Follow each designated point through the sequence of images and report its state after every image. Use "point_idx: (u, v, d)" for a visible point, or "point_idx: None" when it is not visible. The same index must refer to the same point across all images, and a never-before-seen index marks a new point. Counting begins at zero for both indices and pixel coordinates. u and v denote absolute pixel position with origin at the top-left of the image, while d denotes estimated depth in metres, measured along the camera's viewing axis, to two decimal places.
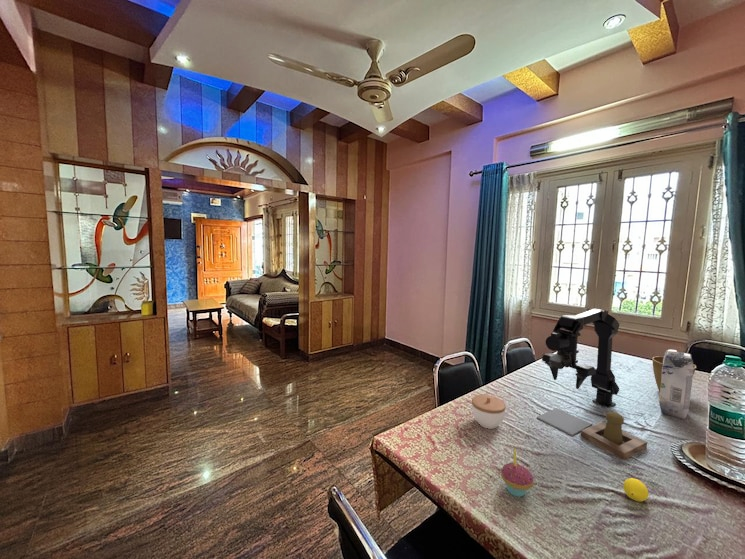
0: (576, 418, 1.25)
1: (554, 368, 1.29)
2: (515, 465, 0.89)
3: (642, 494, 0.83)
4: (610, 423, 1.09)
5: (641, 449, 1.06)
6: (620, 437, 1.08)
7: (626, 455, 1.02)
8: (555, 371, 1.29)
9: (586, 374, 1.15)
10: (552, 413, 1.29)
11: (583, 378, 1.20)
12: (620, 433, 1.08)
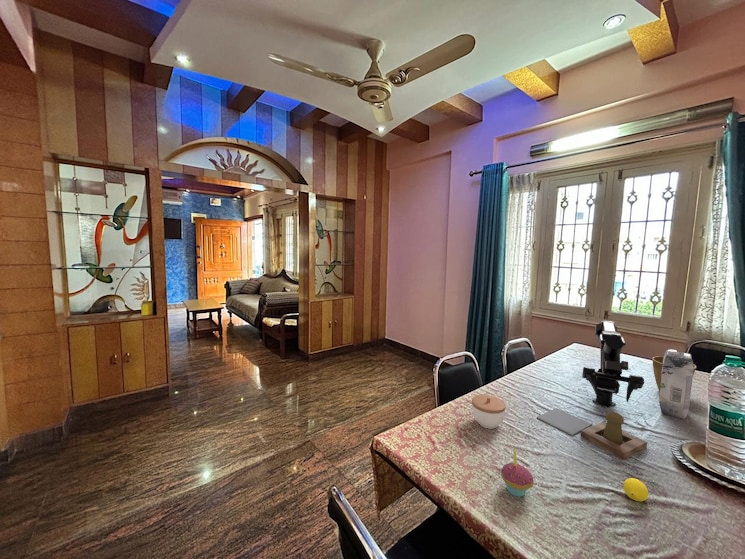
0: (576, 418, 1.25)
1: None
2: (515, 465, 0.89)
3: (642, 494, 0.83)
4: (610, 423, 1.09)
5: (641, 449, 1.06)
6: (620, 437, 1.08)
7: (626, 455, 1.02)
8: (596, 386, 1.21)
9: (643, 380, 1.14)
10: (552, 413, 1.29)
11: None
12: (620, 433, 1.08)
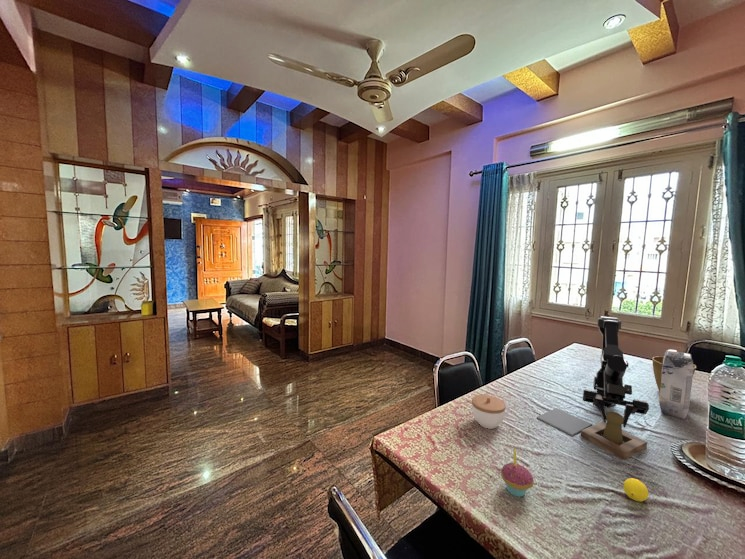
0: (576, 418, 1.25)
1: None
2: (515, 465, 0.89)
3: (642, 494, 0.83)
4: (610, 423, 1.09)
5: (641, 449, 1.06)
6: (620, 437, 1.08)
7: (626, 455, 1.02)
8: (604, 412, 1.12)
9: (648, 406, 1.06)
10: (552, 413, 1.29)
11: None
12: (620, 433, 1.08)
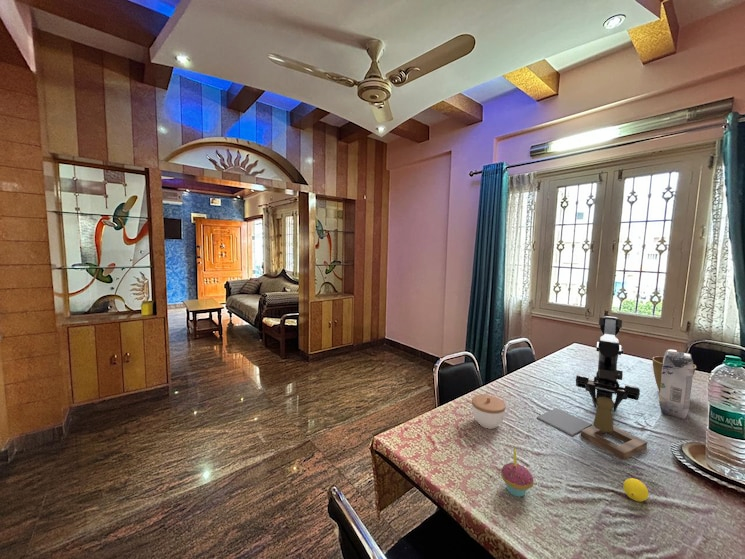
0: (576, 418, 1.25)
1: None
2: (515, 465, 0.89)
3: (642, 494, 0.83)
4: (600, 408, 1.11)
5: (641, 449, 1.06)
6: (610, 421, 1.10)
7: (626, 455, 1.02)
8: (595, 397, 1.14)
9: (638, 391, 1.07)
10: (552, 413, 1.29)
11: None
12: (610, 417, 1.10)
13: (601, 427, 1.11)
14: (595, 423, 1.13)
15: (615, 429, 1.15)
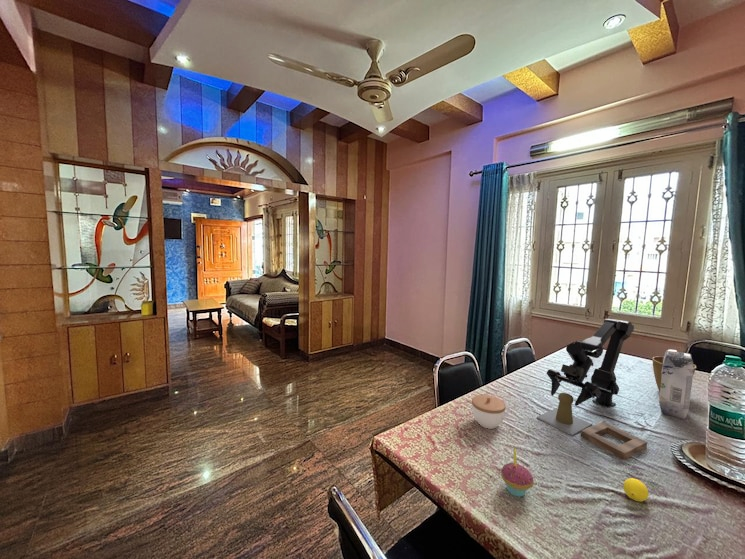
0: (576, 418, 1.25)
1: (556, 384, 1.28)
2: (515, 465, 0.89)
3: (642, 494, 0.83)
4: (560, 401, 1.23)
5: (641, 449, 1.06)
6: (567, 415, 1.21)
7: (626, 455, 1.02)
8: (555, 388, 1.27)
9: (595, 388, 1.16)
10: (552, 413, 1.29)
11: (585, 398, 1.19)
12: (567, 411, 1.21)
13: (559, 419, 1.23)
14: (556, 415, 1.25)
15: (615, 429, 1.15)
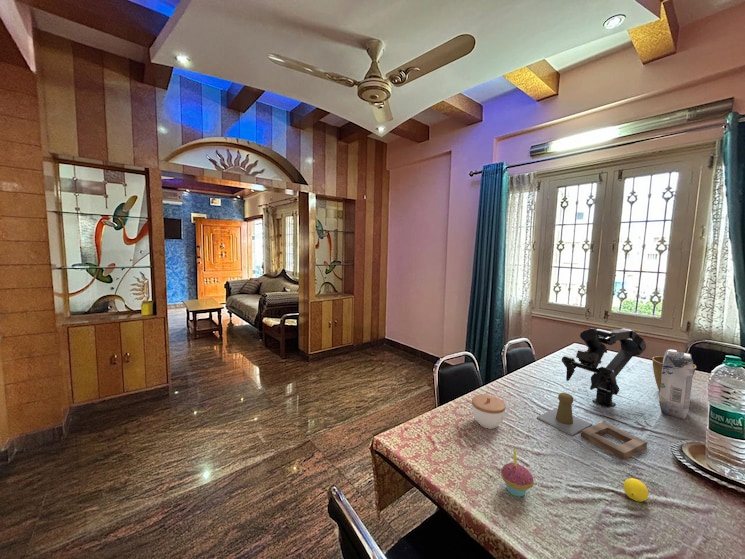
0: (576, 418, 1.25)
1: (570, 370, 1.33)
2: (515, 465, 0.89)
3: (642, 494, 0.83)
4: (560, 401, 1.23)
5: (641, 449, 1.06)
6: (567, 415, 1.21)
7: (626, 455, 1.02)
8: (570, 373, 1.32)
9: (609, 372, 1.20)
10: (552, 413, 1.29)
11: (600, 382, 1.24)
12: (567, 411, 1.21)
13: (559, 419, 1.23)
14: (556, 415, 1.25)
15: (615, 429, 1.15)
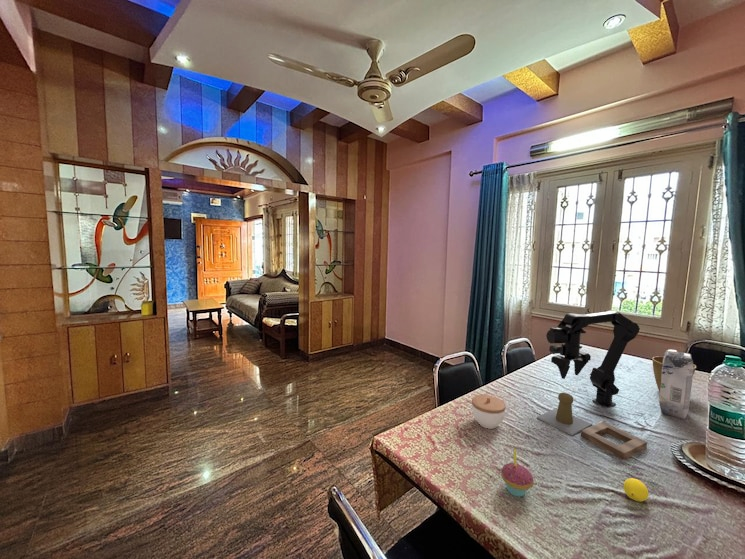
0: (576, 418, 1.25)
1: (576, 364, 1.38)
2: (515, 465, 0.89)
3: (642, 494, 0.83)
4: (560, 401, 1.23)
5: (641, 449, 1.06)
6: (567, 415, 1.21)
7: (626, 455, 1.02)
8: (577, 367, 1.38)
9: (551, 360, 1.34)
10: (552, 413, 1.29)
11: (564, 369, 1.32)
12: (567, 411, 1.21)
13: (559, 419, 1.23)
14: (556, 415, 1.25)
15: (615, 429, 1.15)
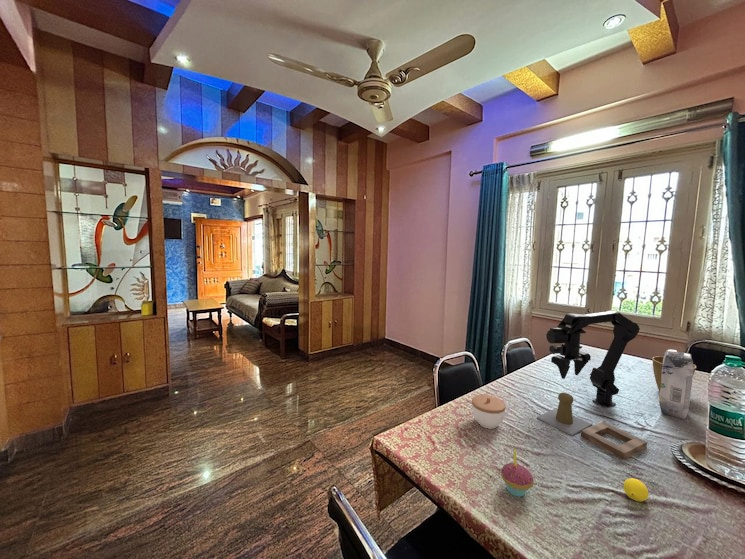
0: (576, 418, 1.25)
1: (576, 364, 1.38)
2: (515, 465, 0.89)
3: (642, 494, 0.83)
4: (560, 401, 1.23)
5: (641, 449, 1.06)
6: (567, 415, 1.21)
7: (626, 455, 1.02)
8: (577, 367, 1.38)
9: (551, 360, 1.34)
10: (552, 413, 1.29)
11: (564, 369, 1.32)
12: (567, 411, 1.21)
13: (559, 419, 1.23)
14: (556, 415, 1.25)
15: (615, 429, 1.15)
